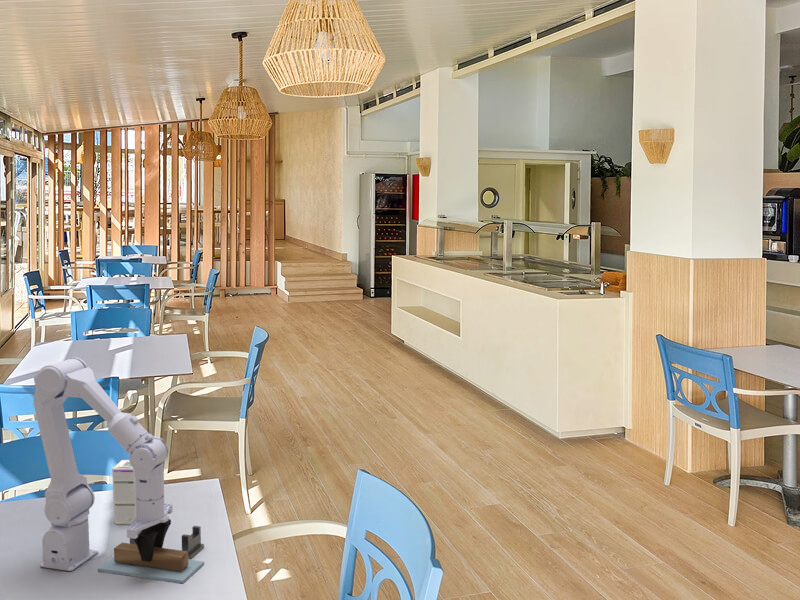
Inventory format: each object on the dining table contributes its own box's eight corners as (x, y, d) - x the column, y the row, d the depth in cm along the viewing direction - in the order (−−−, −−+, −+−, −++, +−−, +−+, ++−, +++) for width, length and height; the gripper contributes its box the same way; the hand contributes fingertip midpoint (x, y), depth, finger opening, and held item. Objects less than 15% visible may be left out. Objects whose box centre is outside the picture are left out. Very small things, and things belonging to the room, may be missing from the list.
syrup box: (137, 525, 188) (136, 467, 186) (113, 524, 188) (111, 466, 186) (145, 515, 193) (144, 459, 192) (122, 515, 193) (120, 459, 192)
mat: (183, 583, 159) (182, 580, 159) (98, 571, 164) (97, 568, 164) (204, 564, 168) (204, 561, 168) (122, 552, 172) (122, 550, 172)
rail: (181, 571, 162) (181, 557, 162) (114, 561, 166) (113, 548, 166) (188, 564, 165) (188, 551, 165) (122, 555, 169) (122, 542, 169)
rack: (190, 558, 170) (190, 537, 169) (126, 550, 174) (126, 528, 173) (204, 547, 176) (203, 526, 175) (141, 539, 180) (141, 518, 179)
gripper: (148, 511, 156) (149, 574, 157) (184, 486, 170) (185, 545, 171) (117, 507, 158) (118, 570, 159) (155, 483, 172) (157, 541, 173)
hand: (151, 556), depth 165 cm, fingers closed on rail, 3 cm apart
